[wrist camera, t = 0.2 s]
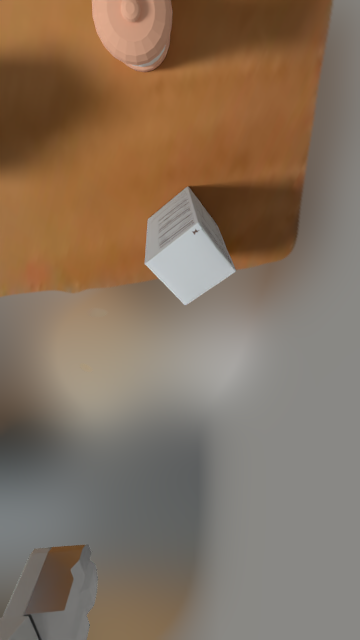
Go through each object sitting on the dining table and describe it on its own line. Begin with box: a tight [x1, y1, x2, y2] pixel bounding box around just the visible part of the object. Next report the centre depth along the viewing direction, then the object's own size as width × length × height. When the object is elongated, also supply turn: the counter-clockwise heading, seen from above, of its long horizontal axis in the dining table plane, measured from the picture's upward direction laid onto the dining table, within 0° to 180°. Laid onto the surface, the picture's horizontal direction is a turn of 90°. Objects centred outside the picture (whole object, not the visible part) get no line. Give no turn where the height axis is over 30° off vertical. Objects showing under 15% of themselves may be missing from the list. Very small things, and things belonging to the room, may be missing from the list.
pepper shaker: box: [92, 0, 173, 72], centre depth 33 cm, size 7×7×19 cm
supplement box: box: [145, 187, 236, 305], centre depth 49 cm, size 10×9×17 cm
